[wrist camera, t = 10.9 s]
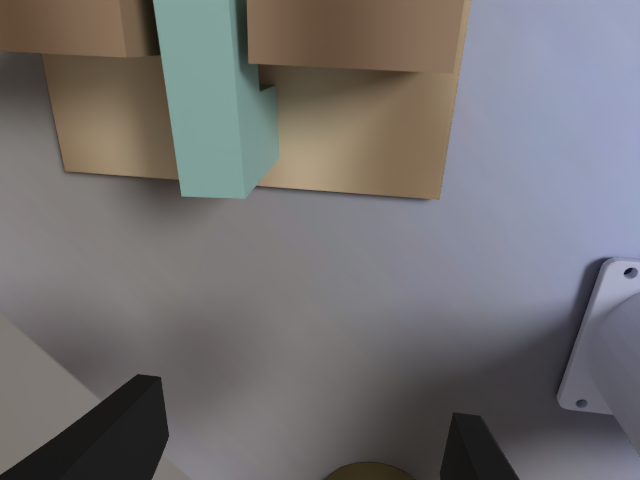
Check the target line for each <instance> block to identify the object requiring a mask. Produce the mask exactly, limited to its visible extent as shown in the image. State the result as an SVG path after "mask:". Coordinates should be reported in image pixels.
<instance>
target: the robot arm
mask: <svg viewBox="0 0 640 480" xmlns="http://www.w3.org/2000/svg"><path fill="white" fill-rule="evenodd" d="M628 268H633V270H632V271H631V272H630V273H628V274H624V272H625V270H626V269H628ZM581 399H583V400H582V401H580V402H577V401H578V400H581ZM557 401H558V403H559V405H560V406H561V407H562V408H564V409H567V410H575V411H584V412H592V413H601V414H609V415H614V416H615V418H616V419H617V421H618V423H619V424H620V426H621V427H622V429H623V431H624V432H625V434H626V435H627V437H628V439H629V440H630V442H631V443H632V445H633V447H634V448H635V450H636V452H637V453H638V455H639V456H640V259H630V258H618V257H617V258H611V259H608V260H606V261H605V262H604V263H603V264H602V266H601V268H600V271H599V274H598V277H597V280H596V283H595V286H594V289H593V292H592V295H591V297H590V300H589V303H588V306H587V309H586V312H585V315H584V318H583V321H582V324H581V327H580V330H579V333H578V335H577V338H576V341H575V344H574V347H573V350H572V353H571V356H570V359H569V362H568V365H567V368H566V371H565V373H564V376H563V379H562V382H561V385H560V388H559V391H558V394H557ZM168 438H169V432H168V425H167V418H166V411H165V403H164V396H163V389H162V382H161V377H157V376H149V375H141V374H137V375H136V376H135V377H133V378H132V379H131V380H129V381H128V382H127V383H125V384H124V385H123V386H121V387H120V388H119V389H118V390H116V391H115V392H114V393H112V394H111V395H110V396H109V397H107V398H106V399H105V400H103V401H102V402H101V403H100V404H98V405H97V406H96V407H94V408H93V409H92V410H91V411H89V412H88V413H87V414H85V415H84V416H83V417H81V418H80V419H79V420H77V421H76V422H75V423H73V424H72V425H71V426H69V427H68V428H67V429H65V430H64V431H63V432H61V433H60V434H59V435H57V436H56V437H55V438H53V439H52V440H50V441H49V442H47V443H46V444H44V445H43V446H42V447H40V448H39V449H37V450H36V451H34V452H33V453H32V454H30V455H29V456H27V457H26V458H25V459H23V460H22V461H20V462H19V463H17V464H16V465H15V466H13V467H12V468H10V469H9V470H7V471H6V472H4V473H3V474H1V475H0V480H151V479H152V478H153V475H154V473H155V471H156V468H157V466H158V463H159V461H160V459H161V456H162V453H163V451H164V448H165V446H166V443H167V441H168ZM440 480H520V479H519V478H518V476H517V475H516V473H515V471H514V470H513V468H512V467H511V465H510V463H509V462H508V460H507V459H506V457H505V455H504V454H503V452H502V451H501V449H500V447H499V446H498V444H497V442H496V441H495V439H494V437H493V436H492V434H491V432H490V430H489V429H488V427H487V425H486V423H485V422H484V420H483V419H482V418H481V417H480V416H477V415H469V414H461V413H453V416H452V421H451V425H450V430H449V434H448V439H447V443H446V448H445V452H444V457H443V462H442V466H441V471H440Z"/></svg>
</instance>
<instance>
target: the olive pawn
mask: <svg viewBox="0 0 640 480" xmlns="http://www.w3.org/2000/svg"><path fill="white" fill-rule="evenodd" d="M327 480H414V479H413V478H412V477H410V476H409V475H408V474H406V473H405V472H404V471H401V470H399V469H397V468H394V467H392V466H390V465H385V464H379V463H374V462H366V463H354V464H350V465H347V466H344V467H341V468H339V469H338V470H336V471H335V472H333V473H332V474H330V476H329V477H328V478H327Z"/></svg>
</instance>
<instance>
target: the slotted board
mask: <svg viewBox="0 0 640 480" xmlns="http://www.w3.org/2000/svg"><path fill="white" fill-rule="evenodd" d="M470 5H471V0H247V26H248V64H258V75H259V85H276V95H277V116H278V137H279V158H280V159H279V160H278V161H277V162H276V163H275V164H274V166H273V167H272V168H271V169H270V170H269V171H268V173H267V174H266V175H265V176H264V177H263V178H262V180H261V181H260V182H259V183H258V184H257V185H256V186H267V187H280V188H293V189H306V190H319V191H332V192H345V193H358V194H371V195H385V196H398V197H411V198H424V199H437V200H439V199H440V193H441V187H442V181H443V174H444V168H445V162H446V156H447V149H448V143H449V137H450V130H451V124H452V118H453V112H454V105H455V99H456V93H457V87H458V80H459V74H460V68H461V62H462V55H463V49H464V43H465V36H466V30H467V24H468V18H469V11H470ZM0 51H4V52H25V53H41V56H42V61H43V66H44V71H45V76H46V81H47V86H48V90H49V95H50V100H51V105H52V110H53V115H54V120H55V124H56V129H57V134H58V139H59V144H60V149H61V154H62V159H63V163H64V168H65V171H71V172H84V173H97V174H110V175H123V176H136V177H149V178H162V179H175V180H179V175H178V169H177V162H176V155H175V148H174V141H173V134H172V127H171V120H170V113H169V107H168V100H167V93H166V86H165V79H164V72H163V65H162V58H161V51H160V45H159V38H158V31H157V24H156V17H155V10H154V3H153V0H0Z"/></svg>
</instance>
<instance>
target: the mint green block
mask: <svg viewBox="0 0 640 480" xmlns="http://www.w3.org/2000/svg"><path fill="white" fill-rule="evenodd" d="M153 3H154V10H155V17H156V24H157V31H158V38H159V45H160V51H161V58H162V65H163V72H164V79H165V86H166V93H167V100H168V107H169V113H170V120H171V127H172V134H173V141H174V148H175V155H176V162H177V169H178V175H179V182H180V189H181V196H182V197H212V198H244V199H245V198H246V197H247V196H248V195H249V193H250V192H251V191H252V190H253V189H254V188H255V187H256V185H257V184H258V183H259V182H260V181H261V180H262V178H263V177H264V176H265V175H266V174H267V173H268V171H269V170H270V169H271V168H272V167H273V166H274V164H275V163H276V162H277V161H278V160H279V159H280V158H279V137H278V116H277V95H276V85H259V75H258V64H248V26H247V0H153Z"/></svg>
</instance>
